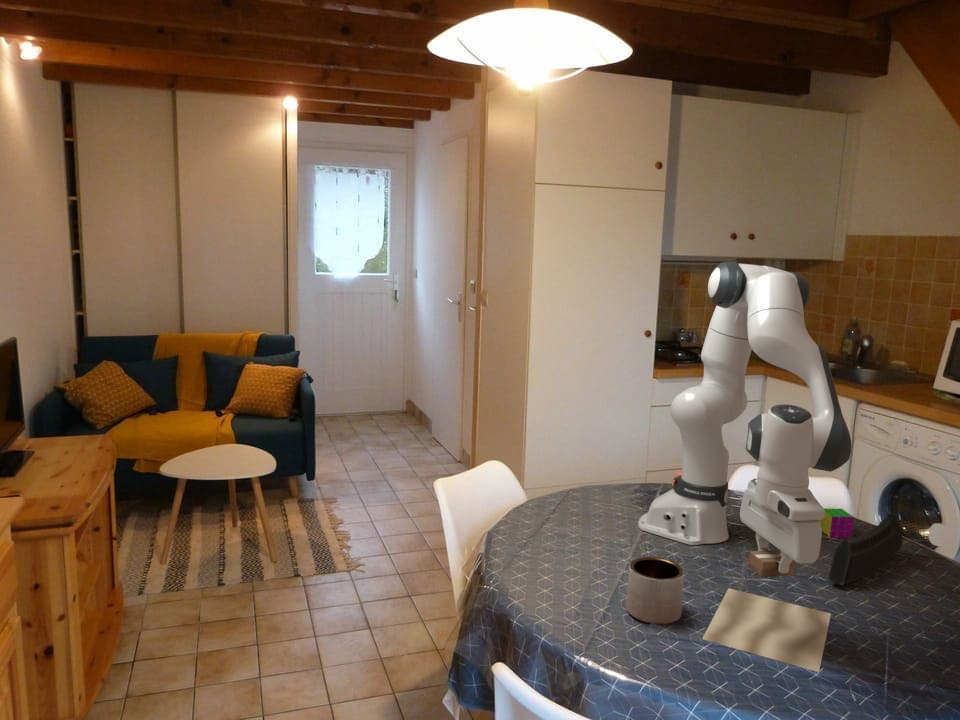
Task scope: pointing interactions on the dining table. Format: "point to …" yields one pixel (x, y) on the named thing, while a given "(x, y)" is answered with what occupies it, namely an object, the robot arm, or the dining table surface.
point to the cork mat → (770, 629)
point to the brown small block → (769, 563)
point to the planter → (655, 590)
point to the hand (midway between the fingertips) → (772, 564)
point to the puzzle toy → (837, 523)
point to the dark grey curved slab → (866, 552)
